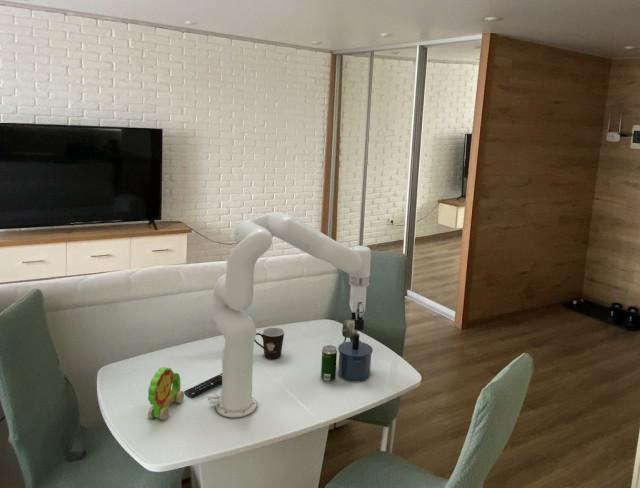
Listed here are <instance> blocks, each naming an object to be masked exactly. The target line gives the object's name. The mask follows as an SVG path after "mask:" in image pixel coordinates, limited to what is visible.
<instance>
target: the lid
mask: <svg viewBox="0 0 640 488" xmlns="http://www.w3.org/2000/svg"><path fill="white" fill-rule="evenodd" d="M359 340H360V333H358V332H357V333H354V334H353V341H350V340H349V341H345V342H344V341H343V342H344V343H343V342H342V343H340V344H339V345H338V347H337V351H338V353H339V352H340V353H341V354H343V355H345V356H348V357H354V358H360V357H366V356H369V355H370V354H371V355H372V353H373V347H372V346H371V345H370V344H368V343H367V342H364V341H361V342H359ZM363 342H364V343H363Z"/></svg>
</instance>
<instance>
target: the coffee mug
mask: <svg viewBox="0 0 640 488" xmlns="http://www.w3.org/2000/svg"><path fill="white" fill-rule="evenodd" d="M261 332H262V333H260V332H256V336H260V337H261V338H262V343H263V345H262V344H261V343H259V342H258V341H257V339H255V341H254V343H255V344H256V345H258V346H259V347H261V348H262V350H263V355H264V358H265V359H267V360H271V361H273V360H278V359H280V358H281V356H282V349H283V343H284V337H285V330H284V329H283V328H280V327H267V328H265V329H263V330H262V331H261Z"/></svg>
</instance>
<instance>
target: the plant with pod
mask: <svg viewBox="0 0 640 488" xmlns="http://www.w3.org/2000/svg"><path fill="white" fill-rule="evenodd" d="M341 329H342V330H341V335H342V337H344V340H343V342H342V343H344V342H347V340H348V339H349V341H353V334H354V333H358V330H355V320H352V319H346V320H343V321H342V328H341ZM347 338H348V339H347ZM359 342H363V343H365V342H364V341H361V340H360V339H359Z"/></svg>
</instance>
